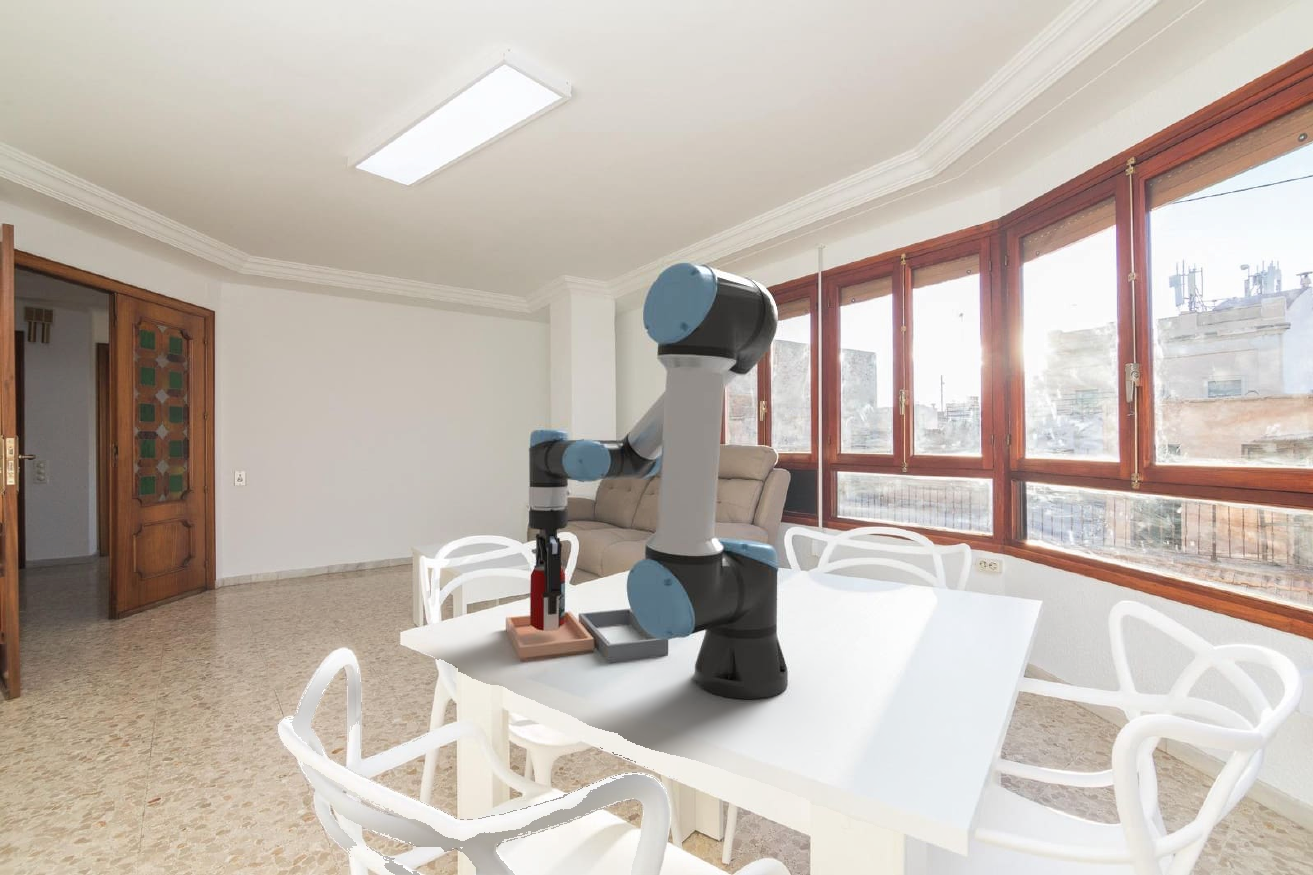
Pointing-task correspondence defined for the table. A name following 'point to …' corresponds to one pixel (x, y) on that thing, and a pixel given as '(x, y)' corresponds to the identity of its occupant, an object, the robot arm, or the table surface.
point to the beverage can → (538, 602)
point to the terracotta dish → (548, 639)
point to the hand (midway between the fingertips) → (547, 624)
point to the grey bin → (625, 649)
